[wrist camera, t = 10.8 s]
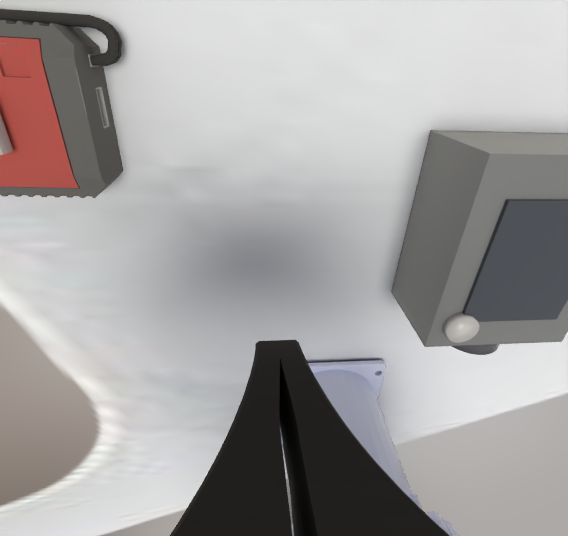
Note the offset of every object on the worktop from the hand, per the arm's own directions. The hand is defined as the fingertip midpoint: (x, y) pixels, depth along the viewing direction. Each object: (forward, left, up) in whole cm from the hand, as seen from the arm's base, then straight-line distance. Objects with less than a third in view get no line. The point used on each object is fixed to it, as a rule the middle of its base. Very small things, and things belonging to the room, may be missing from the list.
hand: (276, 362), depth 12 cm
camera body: (+1, -12, -9) cm, 16 cm away
